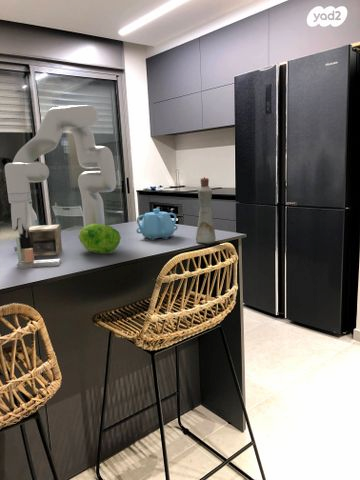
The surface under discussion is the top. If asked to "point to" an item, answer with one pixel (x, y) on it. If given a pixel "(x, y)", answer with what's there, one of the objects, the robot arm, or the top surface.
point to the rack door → (19, 250)
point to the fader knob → (29, 255)
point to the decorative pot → (156, 224)
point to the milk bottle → (33, 215)
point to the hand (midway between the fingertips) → (26, 247)
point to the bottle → (205, 214)
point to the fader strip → (39, 263)
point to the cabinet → (45, 240)
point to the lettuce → (99, 238)
